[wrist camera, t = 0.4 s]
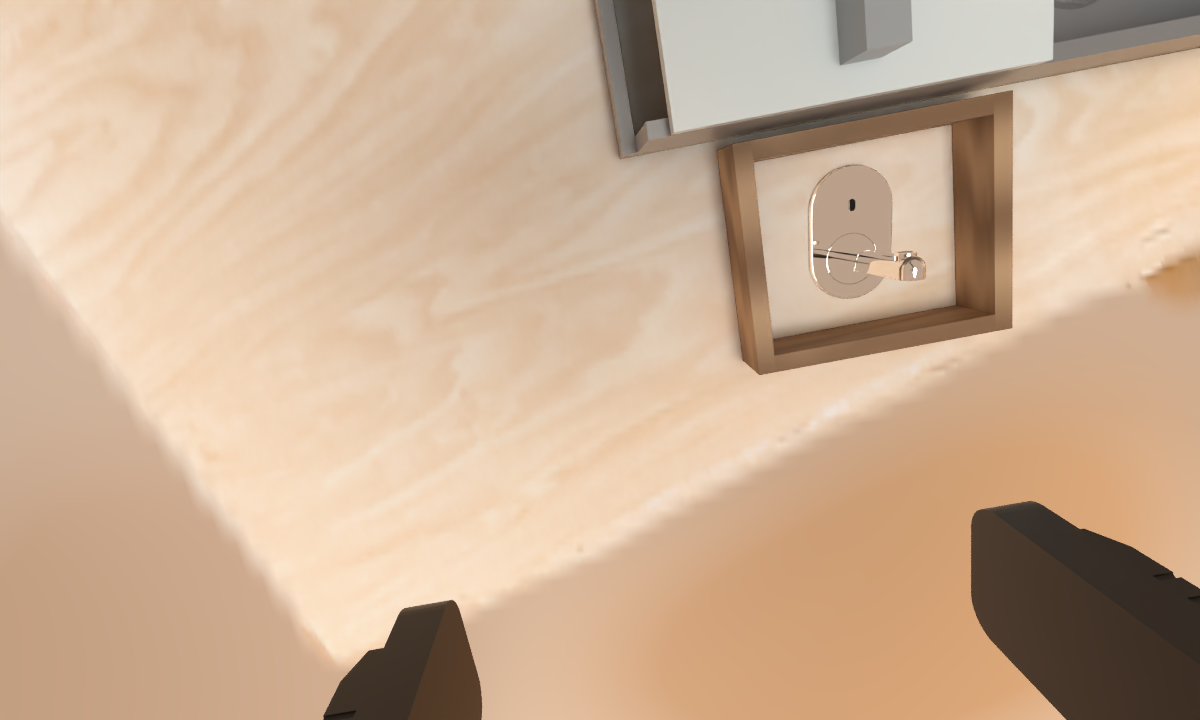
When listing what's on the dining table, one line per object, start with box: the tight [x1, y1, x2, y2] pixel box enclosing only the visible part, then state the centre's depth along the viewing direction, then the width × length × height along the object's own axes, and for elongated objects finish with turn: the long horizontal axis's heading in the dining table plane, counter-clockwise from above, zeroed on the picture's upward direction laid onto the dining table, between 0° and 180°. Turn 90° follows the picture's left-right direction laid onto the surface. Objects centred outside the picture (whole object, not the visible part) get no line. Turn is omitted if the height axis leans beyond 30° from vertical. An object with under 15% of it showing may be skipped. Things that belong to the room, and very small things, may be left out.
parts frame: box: [717, 90, 1013, 375], centre depth 33 cm, size 13×15×4 cm
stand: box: [809, 165, 926, 299], centre depth 31 cm, size 8×5×8 cm
